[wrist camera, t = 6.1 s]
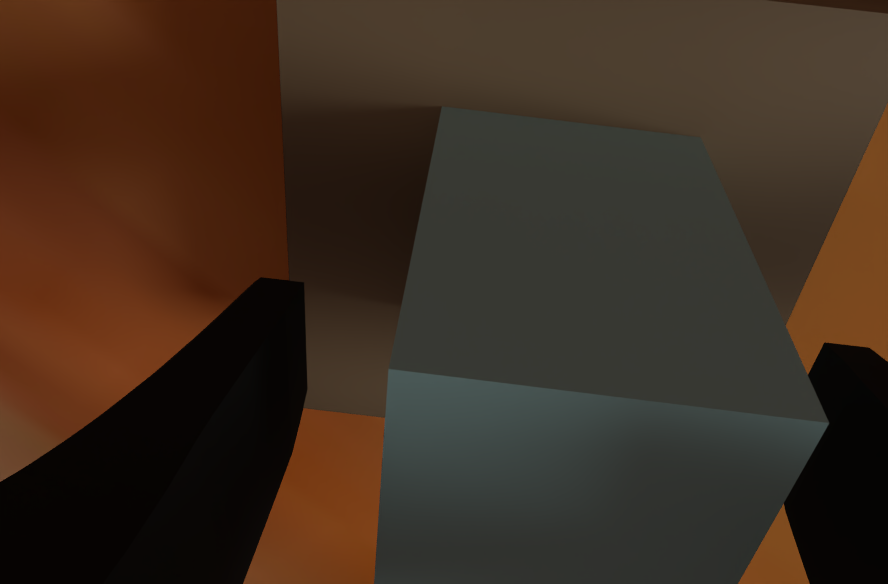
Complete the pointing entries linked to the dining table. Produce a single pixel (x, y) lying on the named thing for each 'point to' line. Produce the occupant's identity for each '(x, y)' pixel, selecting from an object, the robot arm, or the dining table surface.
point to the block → (584, 367)
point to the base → (557, 98)
